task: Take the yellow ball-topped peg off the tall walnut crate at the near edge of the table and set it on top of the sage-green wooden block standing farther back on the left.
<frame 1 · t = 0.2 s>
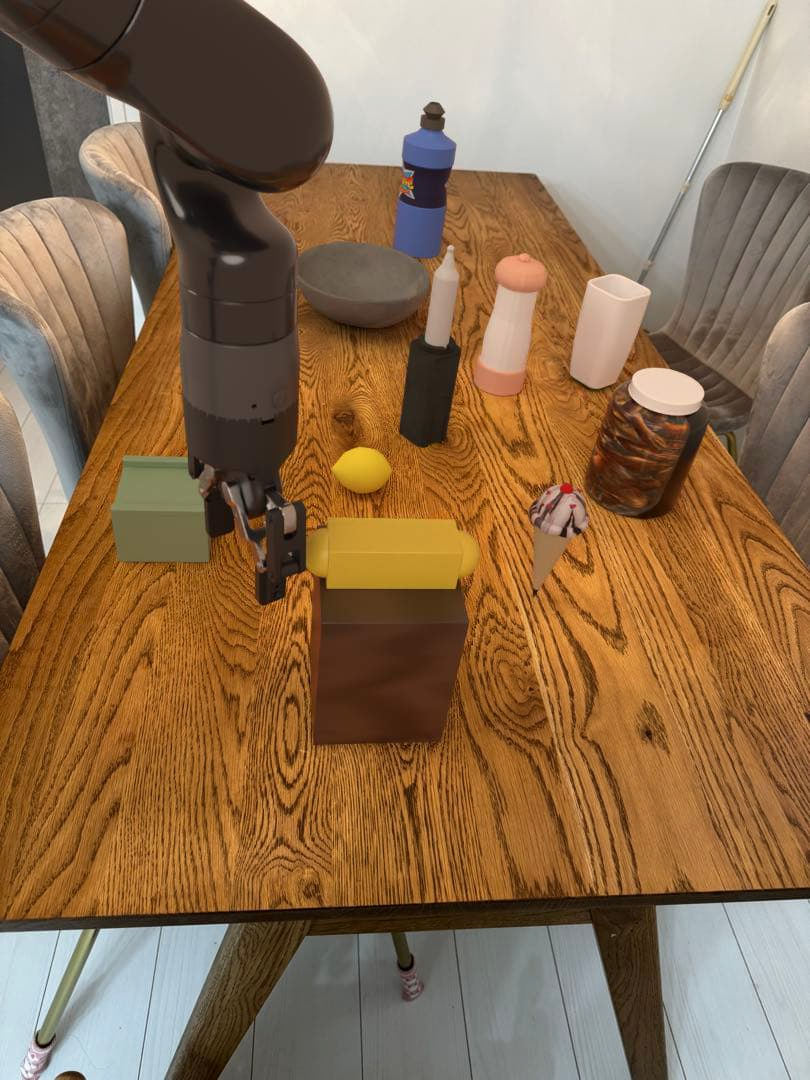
hand: (244, 565, 64), 14 cm above the table, tool pointing down, fingers open, 8 cm apart
block: (168, 533, 86), on the table
ice cream cone: (533, 599, 85), on the table
bowl: (359, 317, 130), on the table
cup: (591, 381, 123), on the table
jar: (629, 491, 102), on the table
salt shaker: (497, 384, 119), on the table
candle: (422, 435, 106), on the table
crate: (372, 692, 73), on the table
lemon: (360, 490, 96), on the table
yellow ball-topped peg: (389, 571, 64), point 15 cm above the table, touching crate
water bottle: (416, 249, 154), on the table
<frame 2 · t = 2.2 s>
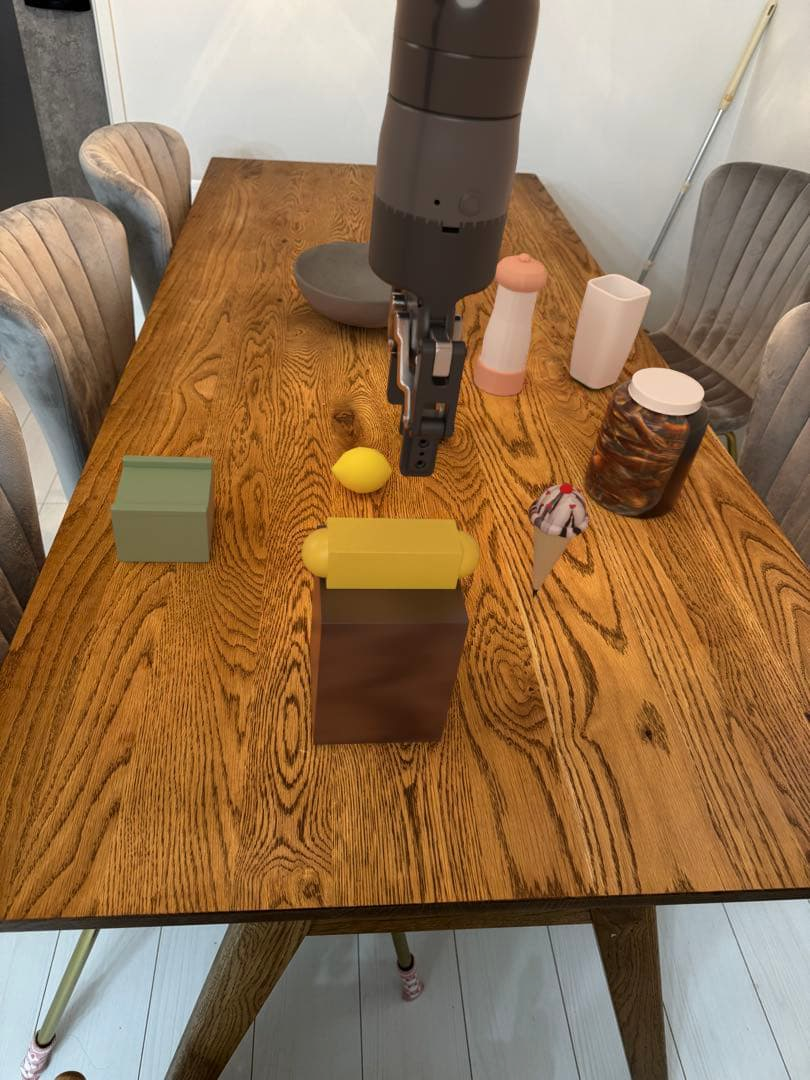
hand: (407, 436, 55), 28 cm above the table, tool pointing down, fingers open, 8 cm apart
nothing on the table moved.
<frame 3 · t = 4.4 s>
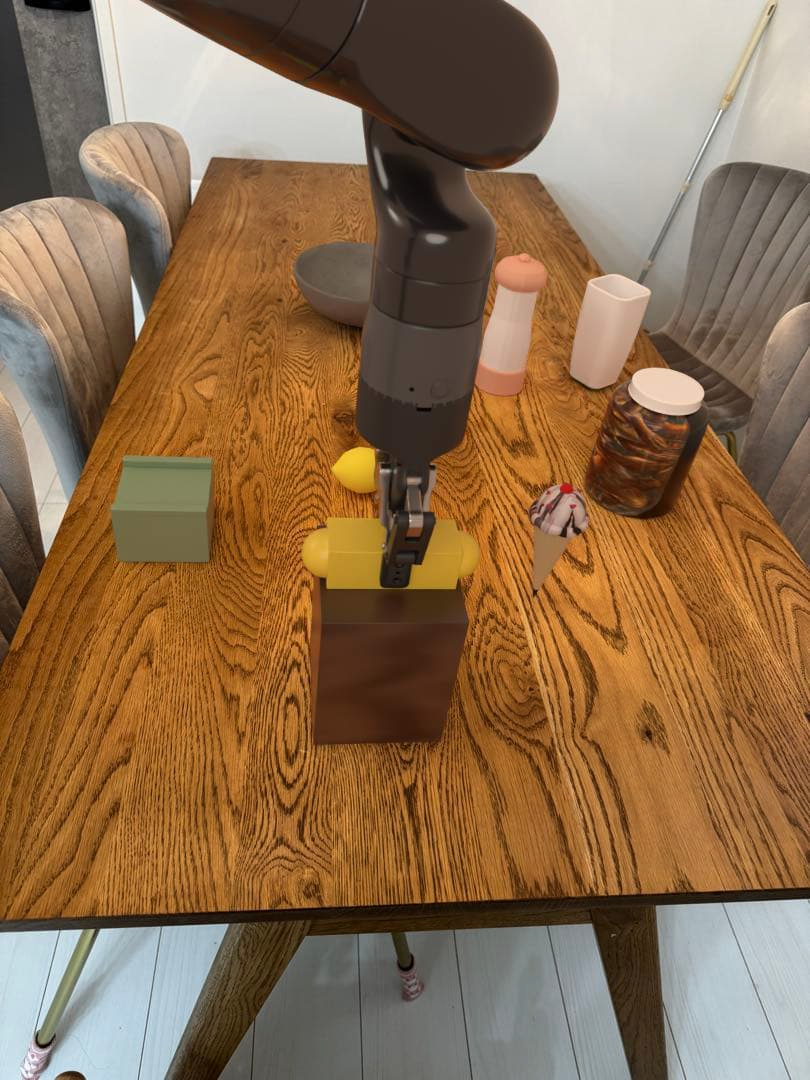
hand: (390, 563, 63), 16 cm above the table, tool pointing down, fingers closed on yellow ball-topped peg, 4 cm apart
yellow ball-topped peg: (389, 571, 64), point 15 cm above the table, touching crate, gripper
everything else where it was.
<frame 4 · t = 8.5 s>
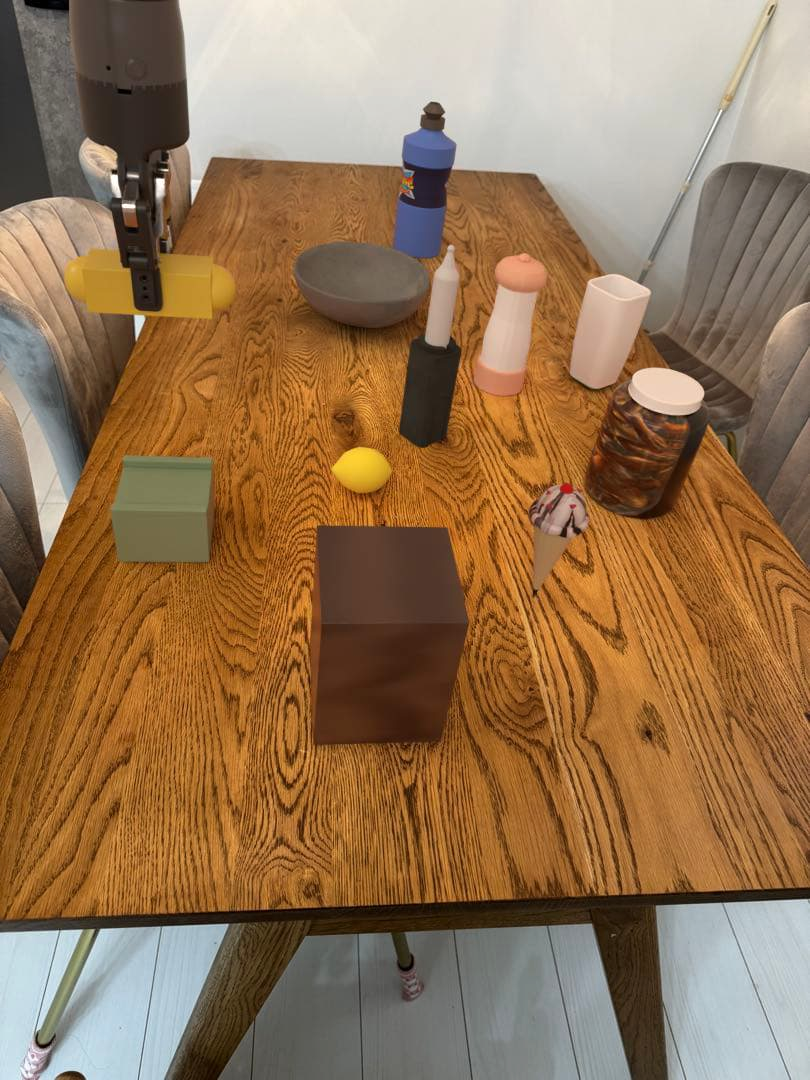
hand: (152, 296, 68), 27 cm above the table, tool pointing down, fingers closed on yellow ball-topped peg, 4 cm apart
yellow ball-topped peg: (153, 305, 69), point 26 cm above the table, touching gripper
everything else where it was.
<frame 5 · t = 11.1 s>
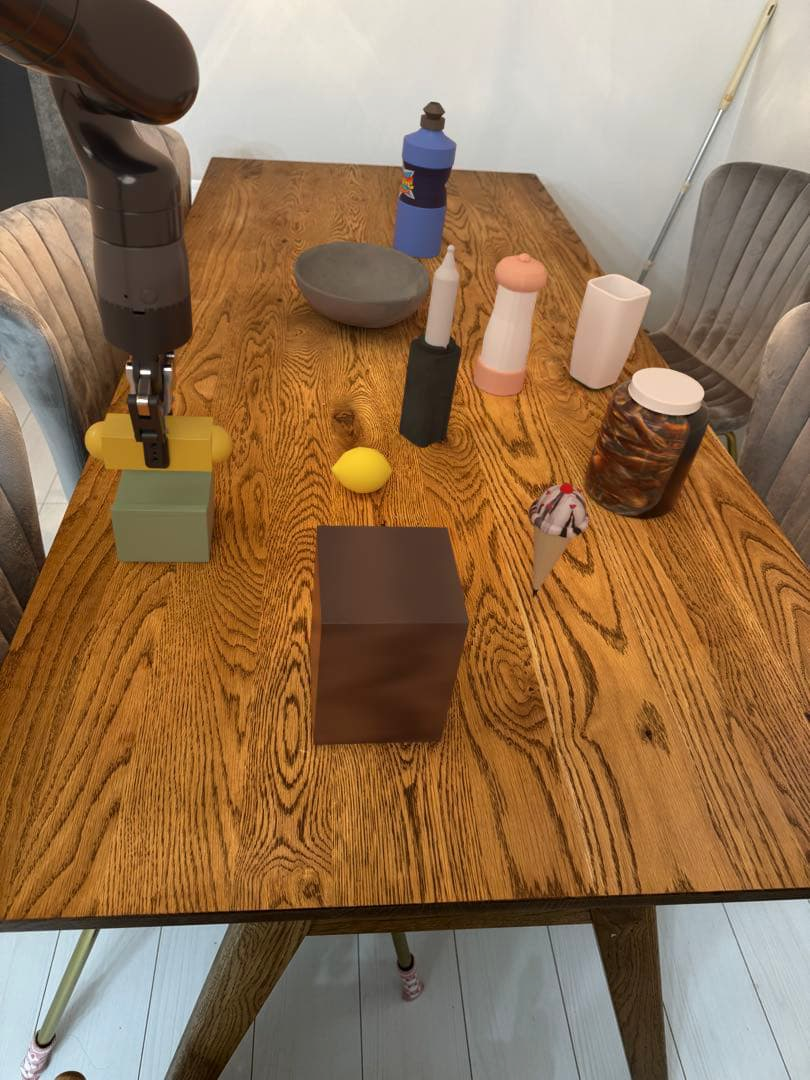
hand: (160, 451, 79), 11 cm above the table, tool pointing down, fingers closed on yellow ball-topped peg, 4 cm apart
yellow ball-topped peg: (161, 458, 80), point 10 cm above the table, touching gripper
everything else where it was.
when the fingers open (7 cm above the table, at t = 12.8 s): yellow ball-topped peg stays where it is, resting on block.
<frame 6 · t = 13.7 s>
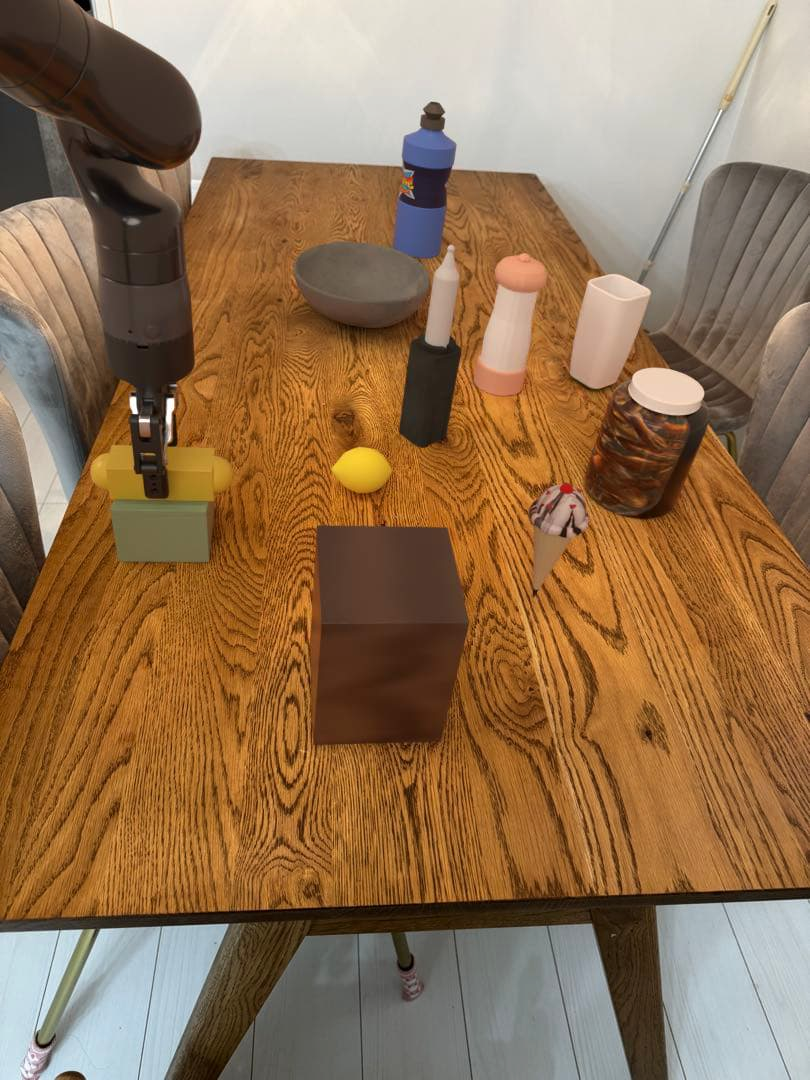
hand: (162, 470, 81), 8 cm above the table, tool pointing down, fingers open, 8 cm apart
block: (168, 533, 86), on the table, touching yellow ball-topped peg
yellow ball-topped peg: (164, 488, 82), point 6 cm above the table, touching block
everything else where it was.
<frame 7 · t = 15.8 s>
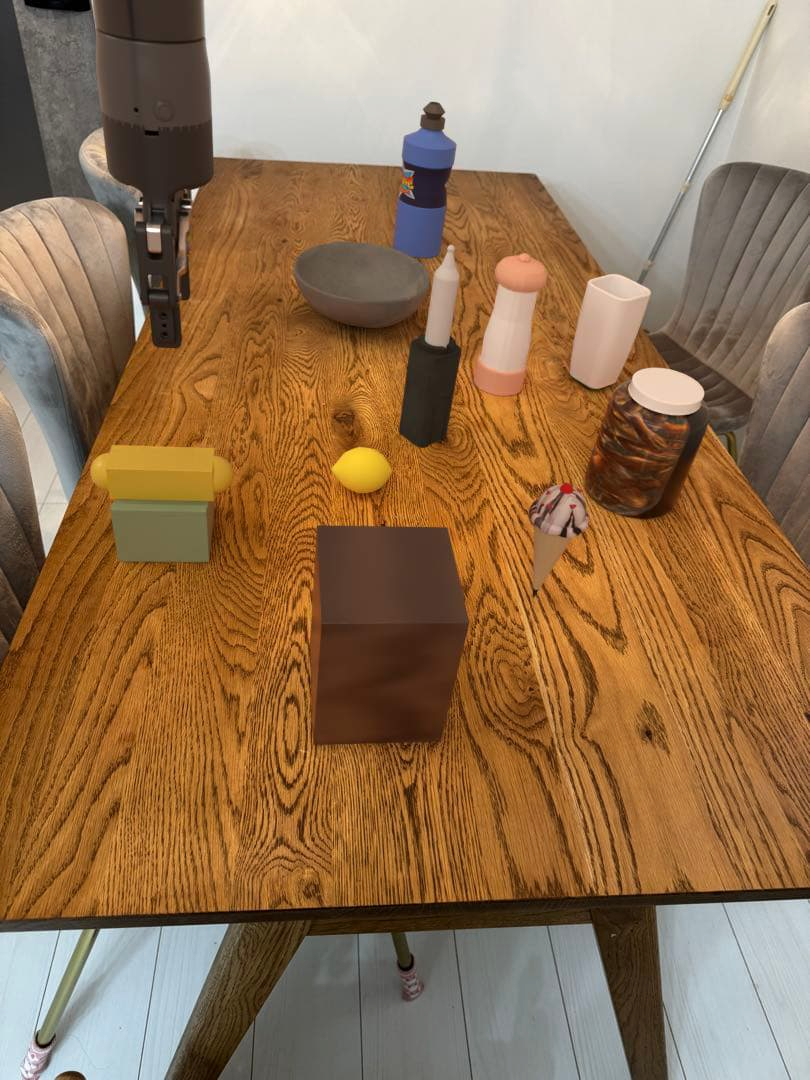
hand: (172, 321, 67), 26 cm above the table, tool pointing down, fingers open, 8 cm apart
nothing on the table moved.
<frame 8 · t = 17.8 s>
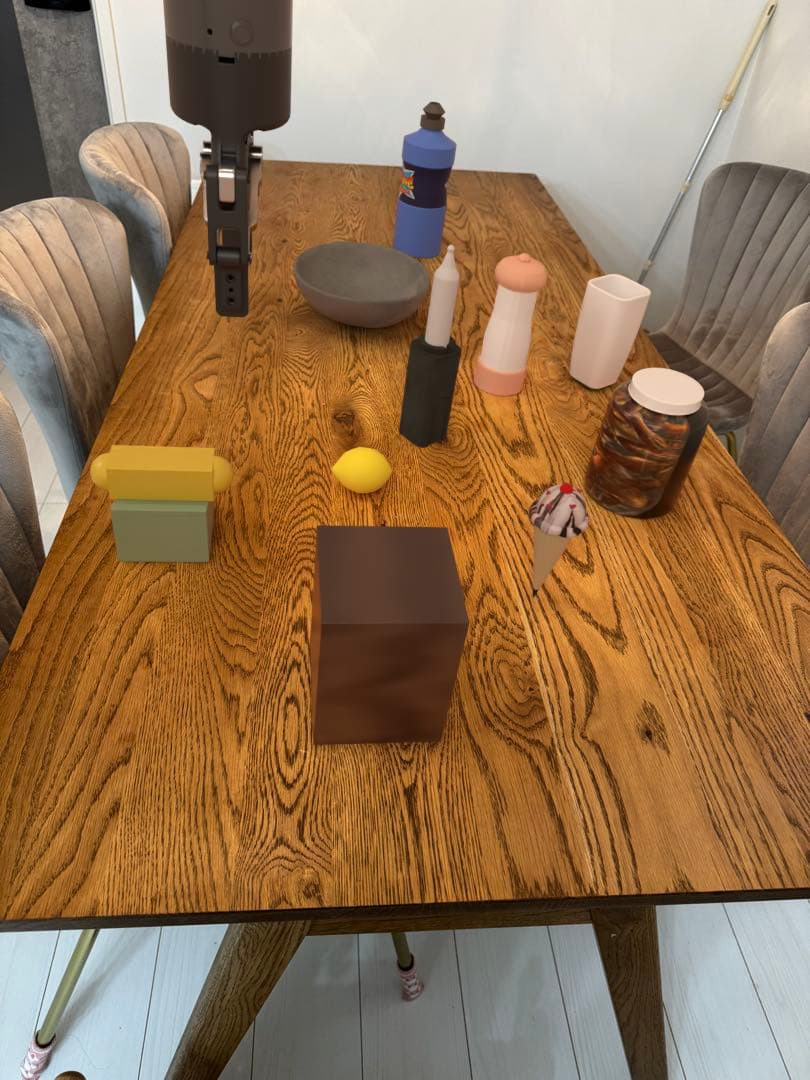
hand: (235, 288, 60), 32 cm above the table, tool pointing down, fingers open, 8 cm apart
nothing on the table moved.
at the end: yellow ball-topped peg inside the target area on the block (0.0 cm from its centre), point 6.0 cm above the block's base; the gripper is holding nothing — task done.
